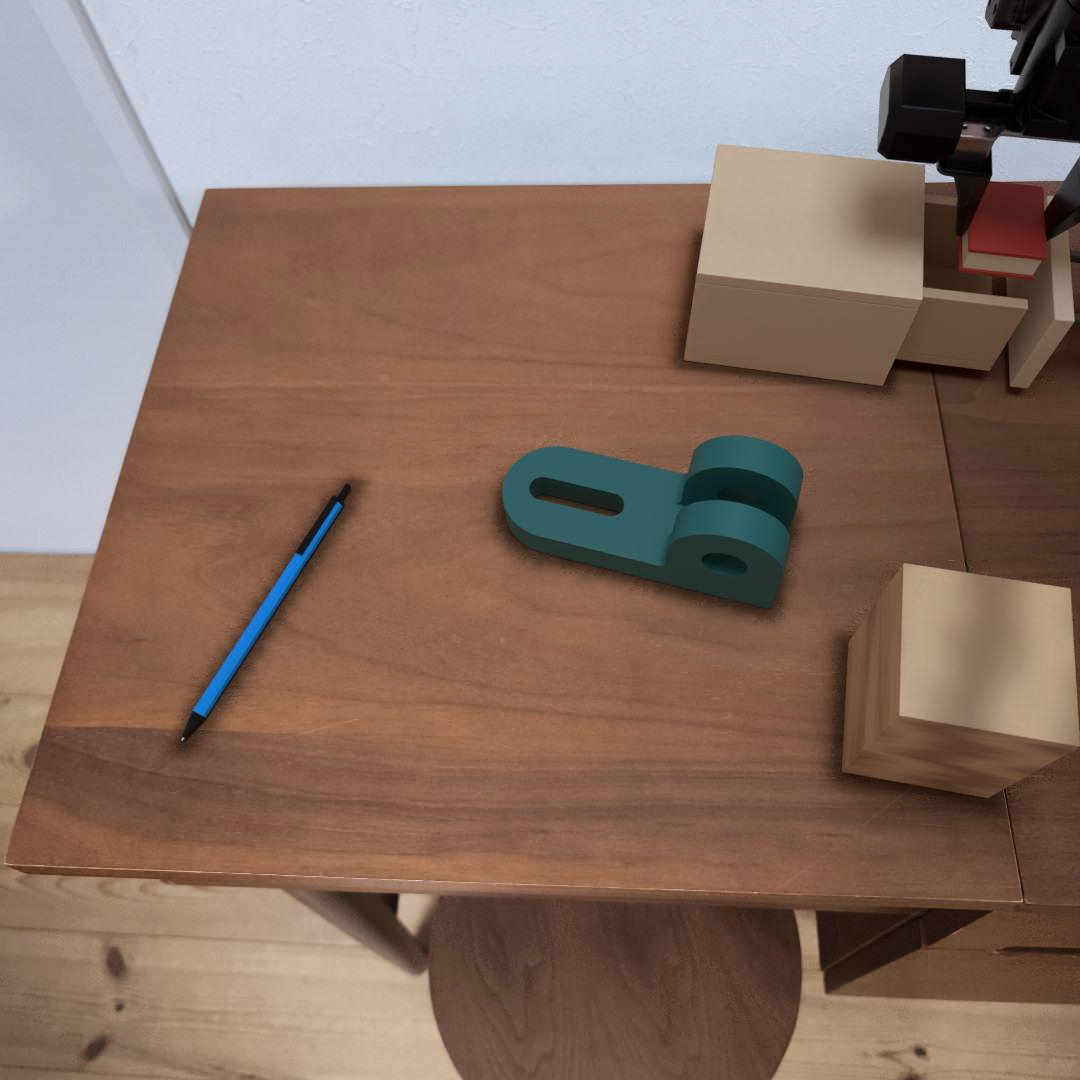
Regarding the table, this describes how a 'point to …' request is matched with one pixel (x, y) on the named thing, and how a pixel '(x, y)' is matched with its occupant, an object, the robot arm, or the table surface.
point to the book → (1005, 233)
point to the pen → (265, 612)
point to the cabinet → (808, 264)
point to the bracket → (665, 514)
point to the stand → (961, 682)
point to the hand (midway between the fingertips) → (998, 235)
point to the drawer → (988, 305)
